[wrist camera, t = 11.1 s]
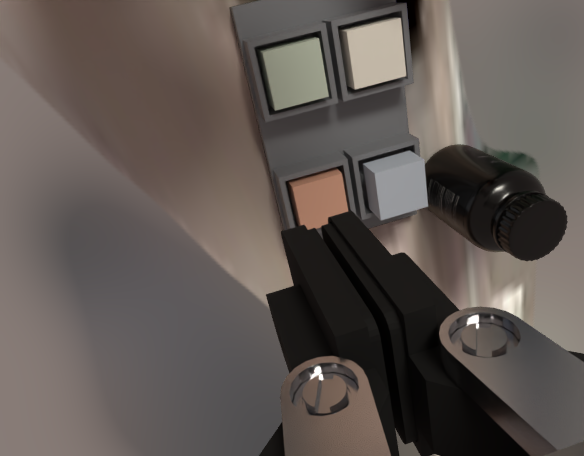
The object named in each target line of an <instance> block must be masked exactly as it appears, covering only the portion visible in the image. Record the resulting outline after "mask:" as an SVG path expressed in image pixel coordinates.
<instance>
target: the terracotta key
mask: <svg viewBox="0 0 584 456" xmlns="http://www.w3.org/2000/svg"><path fill="white" fill-rule="evenodd" d="M286 182H287V186H288V190H289V195H290V199H291V204H292V208H293V212H294V217H295V221H296V222H297V224H298V226H301V225H305V226H306V228H307V229H308V230H309V229H312V228H316V229H317V228H320V227H321V226H322V225H326V224H328V217H331V216H334V215H338V214H341V213H344V212H348V207H347V201H346V195H345V189H344V183H343V177H342V173H341V172H340V171H339V170H338V169H337V168H336V167H334V168H330V169H327V170H323V171H320V172H316V173H313V174H309V175H305V176H302V177H298V178H295V179H291V180H288V181H286Z"/></svg>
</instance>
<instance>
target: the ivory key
mask: <svg viewBox="0 0 584 456" xmlns="http://www.w3.org/2000/svg"><path fill="white" fill-rule="evenodd" d="M338 34H339V40H340V47H341V53H342V60H343V67H344V73H345V80H346V86H348V87H351V88H353V89H359V88H363V87H367V86H371V85H374V84H378V83H382V82H386V81H389V80H393V79H397V78H401V77H405V76H406V67H405V57H404V46H403V36H402V25H401V18H395V17H384V18H380V19H376V20H372V21H368V22H364V23H360V24H356V25H352V26H348V27H344V28H340V29H338Z"/></svg>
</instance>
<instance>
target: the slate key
mask: <svg viewBox="0 0 584 456" xmlns="http://www.w3.org/2000/svg"><path fill="white" fill-rule="evenodd" d="M363 169H364V176H365V183H366V189H367V196H368V203H369V209H370V210H371V211H372V212H373V213H374V214H375V215H376V216H377V217H378V218H379V219H380V220H385V219H388V218H391V217H395V216H398V215H401V214H405V213H408V212H411V211H415V210H418V209H421V208H425V207H428V199H427V187H426V176H425V164H424V159H423V158H421V157H419V156H418V155H416V154H415V153H413V152H411V151H406V152H402V153H399V154H395V155H392V156H388V157H385V158H381V159H378V160H374V161H371V162H367V163H364V164H363Z"/></svg>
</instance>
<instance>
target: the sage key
mask: <svg viewBox="0 0 584 456" xmlns="http://www.w3.org/2000/svg"><path fill="white" fill-rule="evenodd" d="M257 54H258V58H259V62H260V67H261V71H262V76H263V80H264V84H265V89H266V93H267V98H268V102H269V105H270V106H271V107H272V108H273V109H274V110H275V111H276V110H280V109H284V108H287V107H291V106H295V105H299V104H302V103H306V102H310V101H314V100H318V99H321V98H325V97H329V95H328V89H327V83H326V77H325V71H324V65H323V59H322V53H321V47H320V41H319V38H316V37H311V36H308V37H304V38H300V39H295V40H291V41H287V42H283V43H279V44H275V45H271V46H267V47H263V48H259V49H257Z"/></svg>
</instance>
